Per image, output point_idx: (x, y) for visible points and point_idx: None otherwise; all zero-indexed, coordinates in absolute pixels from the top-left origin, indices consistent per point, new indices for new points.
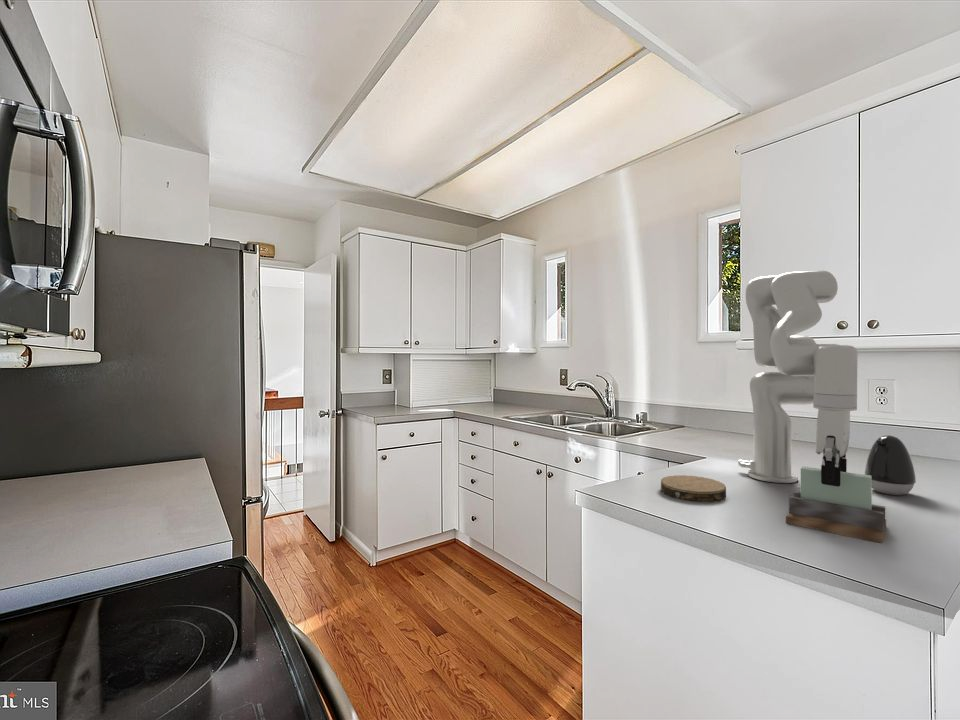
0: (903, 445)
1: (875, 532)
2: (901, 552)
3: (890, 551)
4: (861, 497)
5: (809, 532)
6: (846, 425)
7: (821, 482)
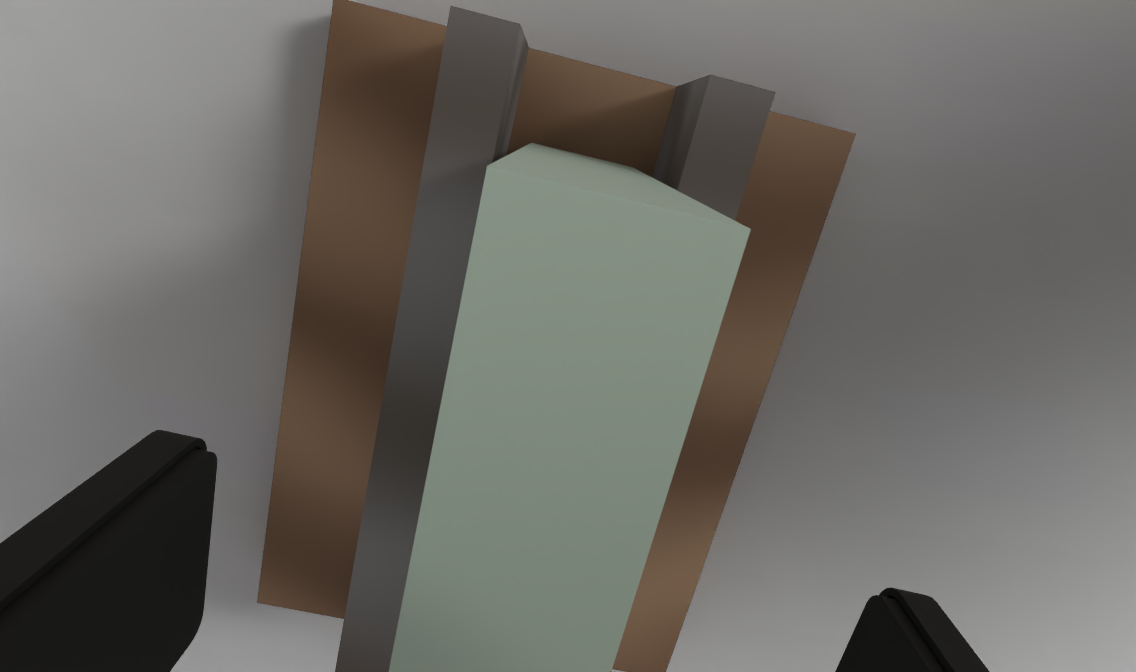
0: None
1: (303, 579)
2: None
3: None
4: None
5: (216, 178)
6: None
7: (154, 434)
